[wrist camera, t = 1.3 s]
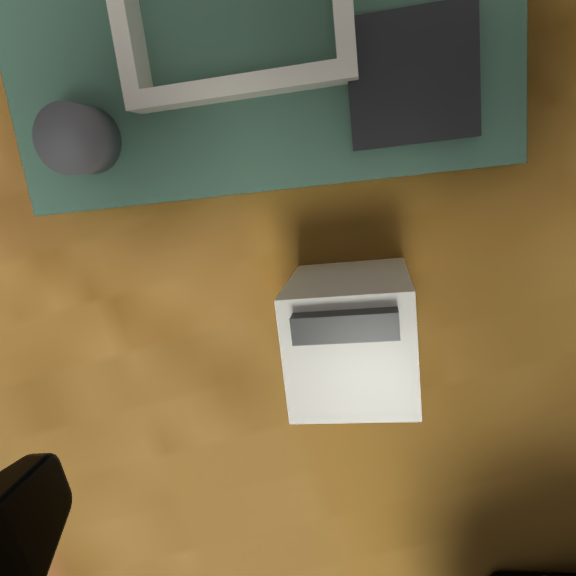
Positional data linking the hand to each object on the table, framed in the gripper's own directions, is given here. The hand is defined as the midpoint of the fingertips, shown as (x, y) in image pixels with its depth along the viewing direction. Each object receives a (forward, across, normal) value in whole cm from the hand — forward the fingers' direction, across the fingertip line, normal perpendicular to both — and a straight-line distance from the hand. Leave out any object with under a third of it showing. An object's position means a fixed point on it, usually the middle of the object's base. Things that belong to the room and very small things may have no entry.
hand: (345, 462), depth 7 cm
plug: (+12, 0, +3) cm, 12 cm away
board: (+13, +3, -8) cm, 16 cm away
